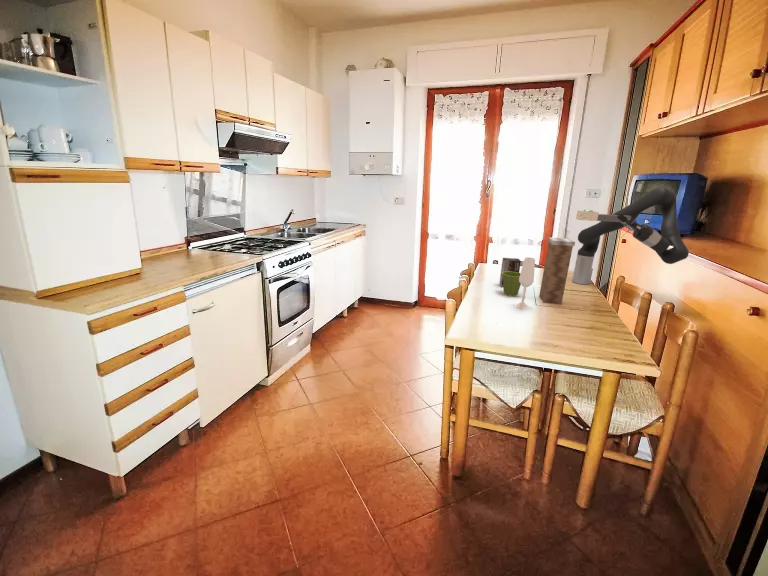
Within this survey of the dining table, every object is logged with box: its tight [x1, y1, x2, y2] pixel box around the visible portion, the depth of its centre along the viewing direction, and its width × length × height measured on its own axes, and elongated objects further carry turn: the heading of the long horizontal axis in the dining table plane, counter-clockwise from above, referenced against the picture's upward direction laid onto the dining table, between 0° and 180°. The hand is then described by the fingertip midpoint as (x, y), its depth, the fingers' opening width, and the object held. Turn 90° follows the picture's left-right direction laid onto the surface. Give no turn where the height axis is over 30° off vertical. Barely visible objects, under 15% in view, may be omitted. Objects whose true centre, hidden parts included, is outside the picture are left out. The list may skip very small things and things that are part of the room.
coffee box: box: [498, 257, 522, 288], centre depth 218 cm, size 9×6×16 cm
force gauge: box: [575, 209, 632, 222], centre depth 182 cm, size 23×5×5 cm, turn 81°
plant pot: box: [502, 271, 522, 297], centre depth 205 cm, size 12×12×11 cm
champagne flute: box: [514, 256, 536, 309], centre depth 184 cm, size 7×7×24 cm
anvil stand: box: [538, 237, 576, 305], centre depth 193 cm, size 10×10×32 cm
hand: (617, 215), depth 181 cm, fingers closed on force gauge, 3 cm apart
